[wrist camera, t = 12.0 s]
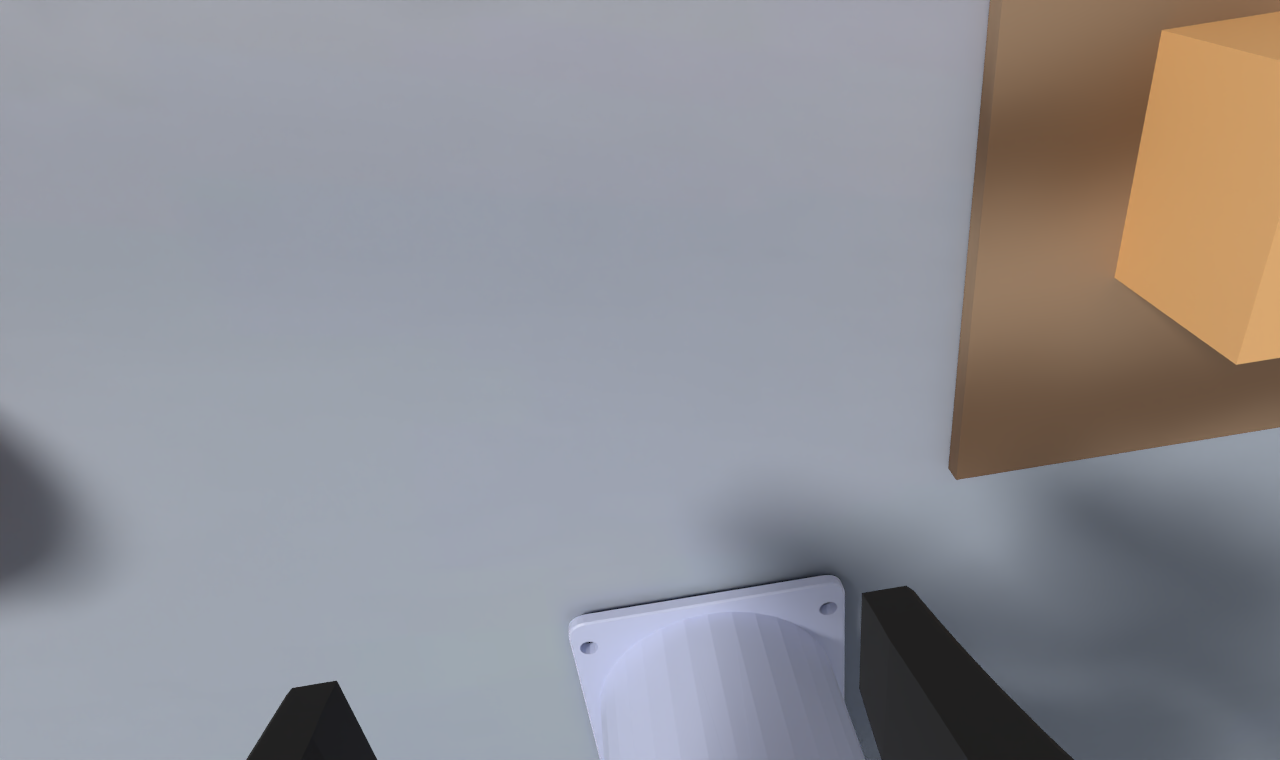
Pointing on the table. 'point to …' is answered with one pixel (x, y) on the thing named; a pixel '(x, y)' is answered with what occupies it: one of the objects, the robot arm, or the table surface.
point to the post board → (1078, 253)
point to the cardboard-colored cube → (1211, 187)
